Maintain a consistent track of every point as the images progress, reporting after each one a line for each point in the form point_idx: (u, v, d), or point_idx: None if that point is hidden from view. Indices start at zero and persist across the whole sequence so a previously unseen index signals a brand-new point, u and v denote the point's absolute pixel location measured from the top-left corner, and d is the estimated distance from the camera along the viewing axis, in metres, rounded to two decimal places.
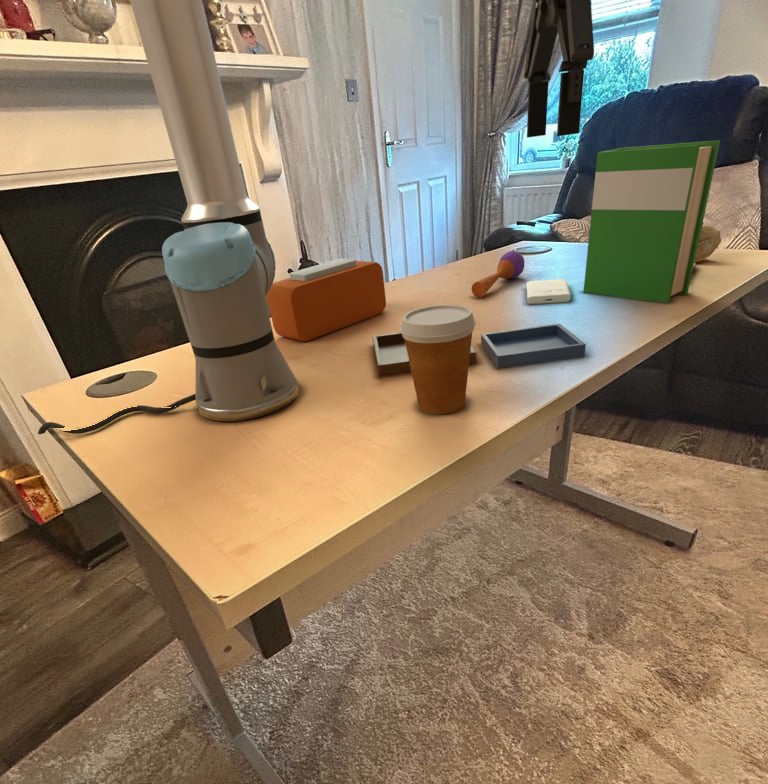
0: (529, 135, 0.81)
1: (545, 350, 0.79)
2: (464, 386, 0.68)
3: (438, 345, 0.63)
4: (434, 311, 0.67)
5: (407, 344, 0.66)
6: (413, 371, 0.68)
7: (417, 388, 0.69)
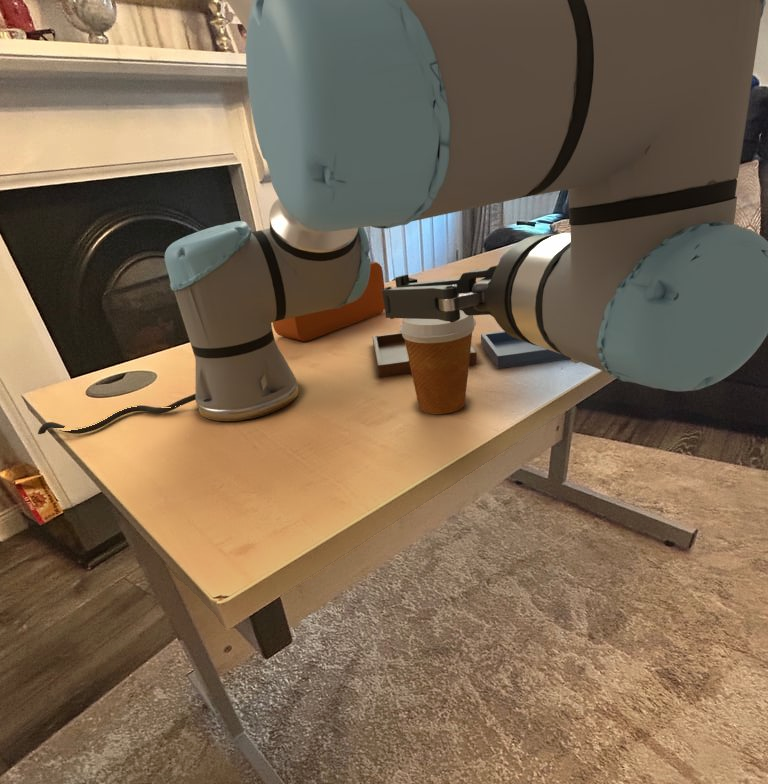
0: None
1: (545, 350, 0.79)
2: (464, 386, 0.68)
3: (438, 345, 0.63)
4: None
5: (407, 344, 0.66)
6: (413, 371, 0.68)
7: (417, 388, 0.69)
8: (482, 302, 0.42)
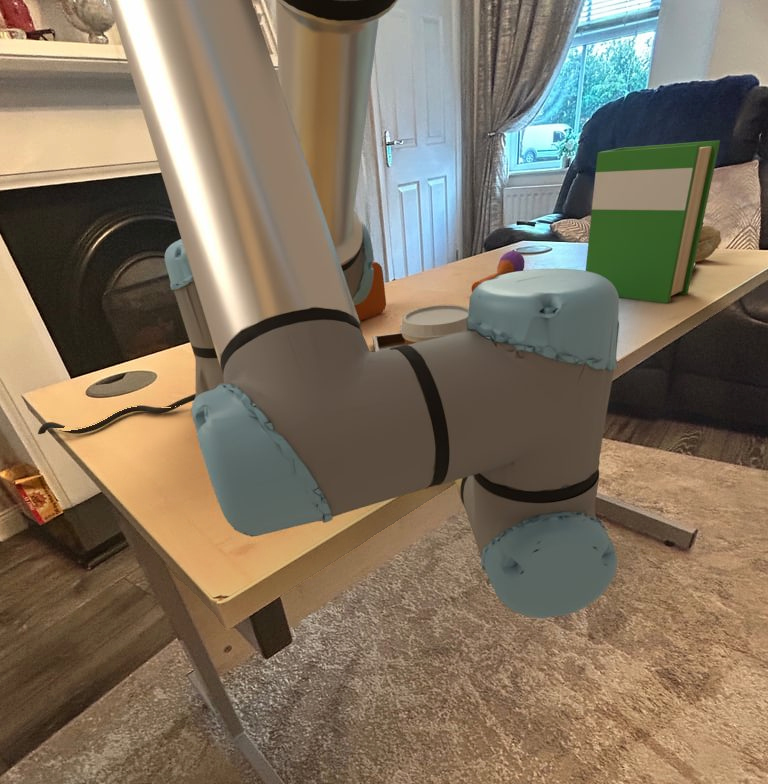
0: None
1: None
2: None
3: None
4: (434, 311, 0.67)
5: (407, 344, 0.66)
6: None
7: None
8: None
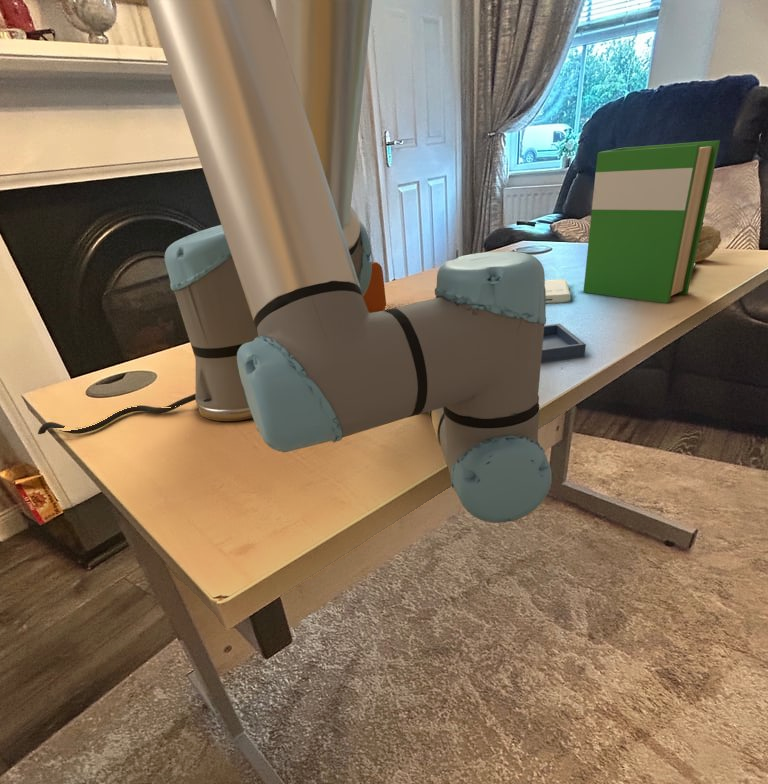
0: None
1: (545, 350, 0.79)
2: None
3: None
4: None
5: None
6: None
7: None
8: None
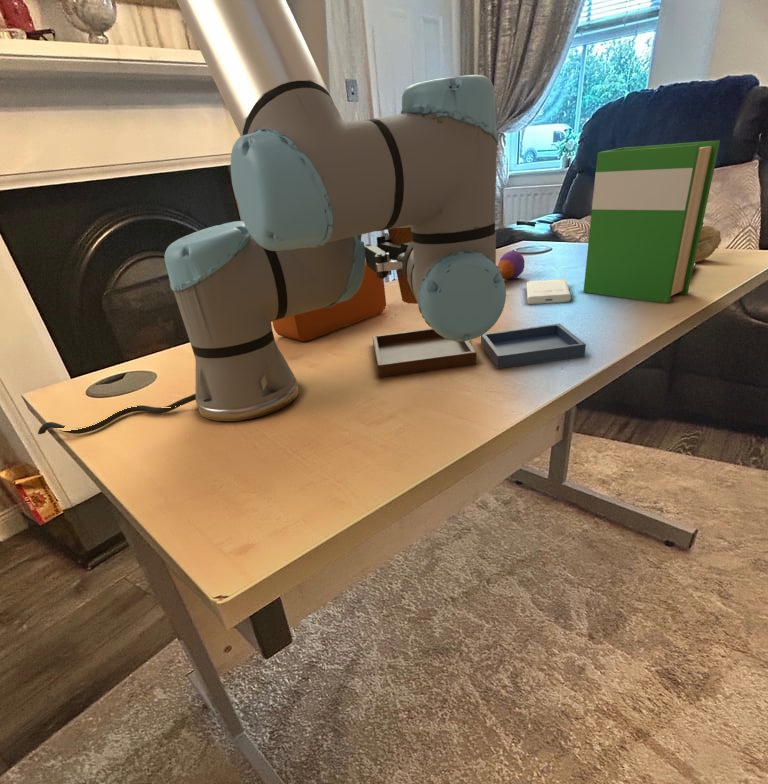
0: None
1: (545, 350, 0.79)
2: None
3: None
4: None
5: (390, 233, 0.71)
6: None
7: (400, 278, 0.74)
8: (402, 268, 0.63)
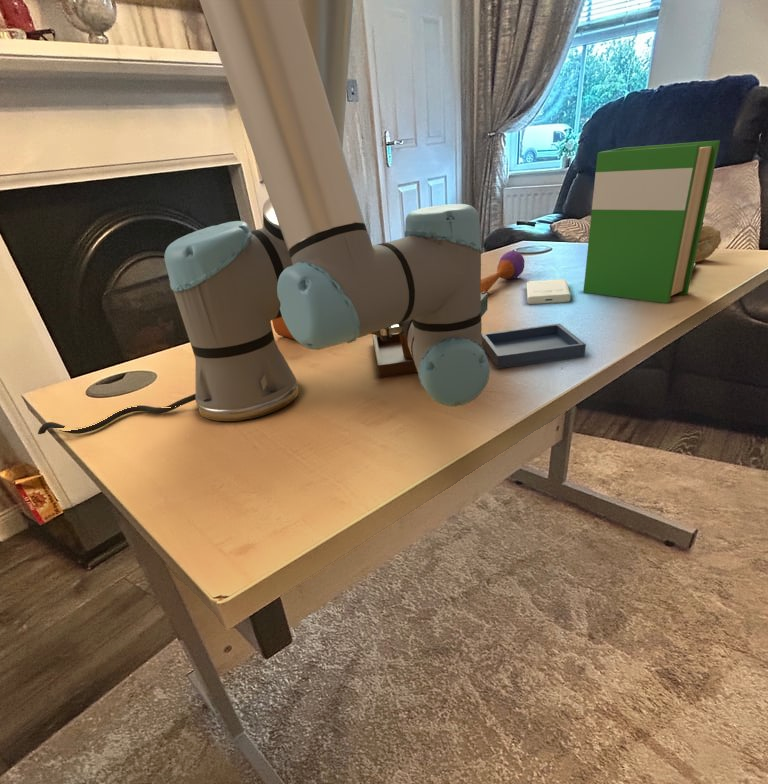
0: None
1: (545, 350, 0.79)
2: None
3: None
4: None
5: None
6: None
7: (401, 337, 0.86)
8: (403, 331, 0.73)
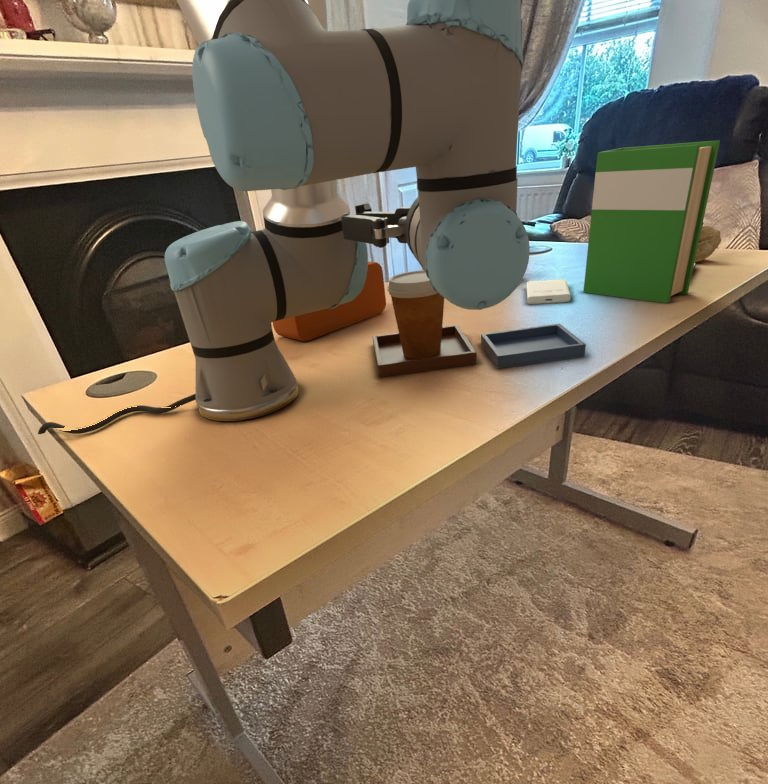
0: None
1: (545, 350, 0.79)
2: (439, 335, 0.85)
3: (417, 300, 0.80)
4: (415, 275, 0.84)
5: (393, 300, 0.82)
6: (398, 323, 0.84)
7: (401, 337, 0.86)
8: (404, 234, 0.55)
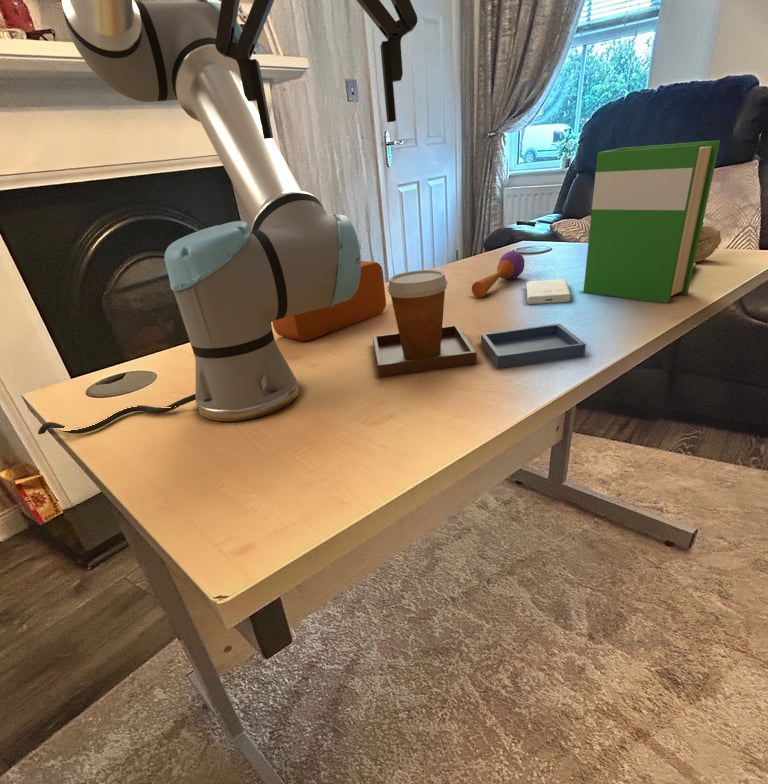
0: None
1: (545, 350, 0.79)
2: (439, 335, 0.85)
3: (417, 300, 0.80)
4: (415, 275, 0.84)
5: (393, 300, 0.82)
6: (398, 323, 0.84)
7: (401, 337, 0.86)
8: None
